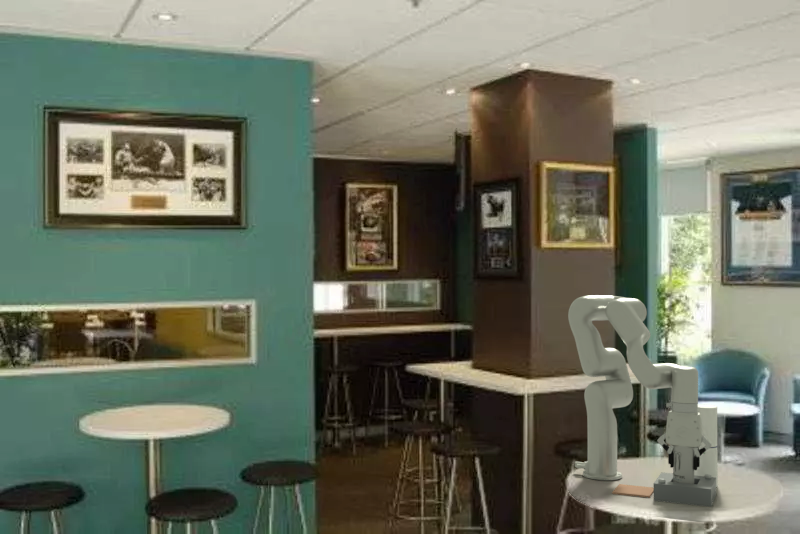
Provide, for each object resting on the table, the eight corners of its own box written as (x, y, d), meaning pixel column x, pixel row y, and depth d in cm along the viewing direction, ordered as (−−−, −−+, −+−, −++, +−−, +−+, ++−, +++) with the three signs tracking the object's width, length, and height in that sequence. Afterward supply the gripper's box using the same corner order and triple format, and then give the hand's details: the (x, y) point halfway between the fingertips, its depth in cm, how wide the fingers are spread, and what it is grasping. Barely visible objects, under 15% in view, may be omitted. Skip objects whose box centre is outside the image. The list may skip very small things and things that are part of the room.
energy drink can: (668, 487, 253) (669, 438, 253) (684, 486, 255) (685, 436, 255) (682, 492, 247) (682, 442, 247) (698, 491, 250) (699, 440, 250)
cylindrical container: (719, 488, 261) (719, 408, 261) (695, 487, 262) (694, 407, 263) (715, 483, 268) (715, 405, 268) (692, 482, 269) (691, 404, 270)
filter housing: (653, 500, 247) (653, 480, 247) (661, 488, 261) (661, 469, 261) (711, 506, 240) (711, 485, 240) (716, 494, 254) (716, 474, 255)
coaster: (612, 493, 254) (612, 491, 254) (619, 485, 264) (619, 483, 264) (649, 497, 250) (649, 495, 250) (655, 489, 260) (655, 487, 260)
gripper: (652, 407, 252) (652, 467, 251) (714, 412, 244) (713, 474, 244) (656, 403, 258) (655, 462, 258) (716, 408, 251) (715, 468, 251)
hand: (683, 467), depth 251 cm, fingers closed on energy drink can, 6 cm apart
